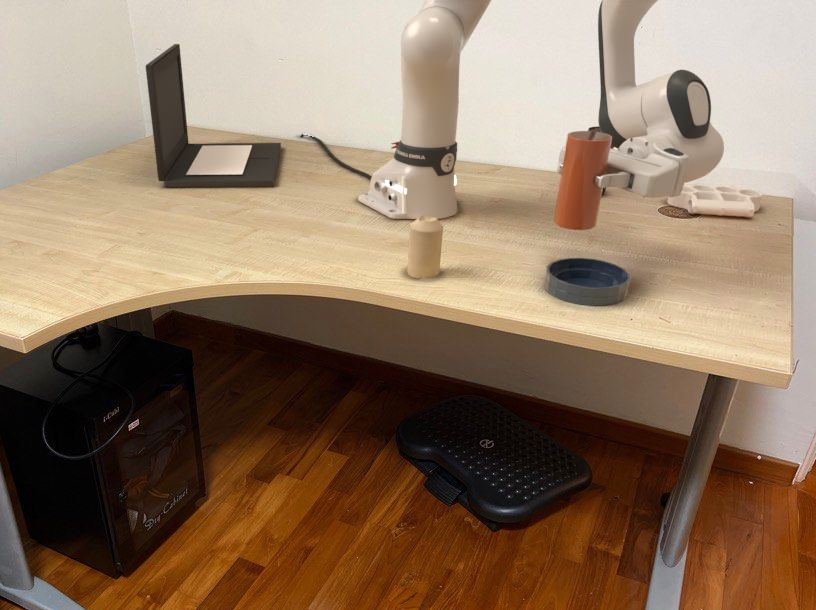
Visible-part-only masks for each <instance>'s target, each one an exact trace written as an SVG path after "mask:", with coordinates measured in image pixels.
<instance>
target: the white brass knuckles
mask: <svg viewBox="0 0 816 610" xmlns="http://www.w3.org/2000/svg"><path fill="white" fill-rule="evenodd" d="M763 198H764V193H763V192H762V191H760V190H758V189H753V188H741V187H735V186H731V185H724V184H719V185H718V184H716V185H715V184H705V183H697V184H684V186H683V189H682V192H681V194H680V196H676V197H669V196H667V200H666V202H667V205H669V206H672V207H674V208H677V209H684V210H687V213H689V214H690V215H695V214H698V215H699V214H700V215H710V216H711V215H712V216H719V217H722V216H728V217H741V218H743V217H744V218H748V219H749V218H752V217H754V214H755V212H756V213H757V212H758V211H759V210H760V207H761V204H762V200H763Z"/></svg>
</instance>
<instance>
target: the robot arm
mask: <svg viewBox="0 0 816 610" xmlns="http://www.w3.org/2000/svg"><path fill="white" fill-rule="evenodd" d="M658 1H659V0H601V2H600V4H599V8H598V13H597V14H598V17H597V35H598V37H597V39H598V59H599V60H598V62H599V82H600V83H599V84H600V100H599V108H598V118H597V119H598V120H597V121H598V122H597V123H598V127H599V129H600V132H601V133H606V134H609V135H611V136H612V142H611V145H612V146H614V148H613V149H612V148H610V152H609V158H608V163H607V168H606V174H605V173H602V174H597V175H596V176H595V181H594V185H595V186H597V187H600V188H605V187H606V188H615V189H620V190H623V191H627V192H629V193H632V194H635V195H639V196H641V197H645V198H651V199H658V198H666V197H668V196H669V197H676V196H680V194H681V192H682V189H683V186H684V185H685V184H686V183H689V182H693V181H696V180H700V179H701V178H704V177H705V176H707V175H708V174H710V173H711V172H713V170H715V168H717V166H718V165H719V164H720V162H721V160H722V159H723V156H724V152H725V145H724V144H725V143H724V139H723V137H722V135H721V133H720V132H719V131H718V130H717V129H716V128H715V127H714V126H713V124H712V123H711V116H712V100H711V95H710V91H709V89H708V87H707V85H706V84H705V82H704V81H703V79H702V78H701V77H699V76H698V75H697V74H695V73H694V72H692V71H690V70H686V69H677V70H676V71H672V72H669V73H667V74H663V75H661V76H659V77H656V78H653V79H652V80H649V81H647V82H644V83H641V84H638V85H637V83H636V66H635V65H636V63H635V62H636V61H635V35H636V32H637V29H638V27H639V25H640V23H641V21H642V20H643V19H644V17H645V16H646V14H647V13H648V12H649V10H650V9H651V8H652V7H653V6H654V5H655V4H656V3H657V2H658ZM491 2H492V0H424V2H423V4H422V6H421V8H420V9H419V11H418V13H416V14H415V15H414V16H412V17H410V19H409V20H408V22H406V24H405V26H404V27H403V30H402V33H401V37H400V38H401V39H400V72H401V73H400V74H401V75H400V77H401V92H402V95H401V96H402V107H401V108H402V109H401V111H402V113H401V128H400V129H401V131H400V140H399V141H396V142H391V143H390V144H391V145H393V146H390V149H391V150H393V149H395V151H394V154H393V157H392V158H391V159H389V160H388V161H387V162H386V163H384V164H383V165H382V166H381V167H379V168H378V169H376V170H374V172H373V174H372V175H370V174H369V173H367V172H364V171H362V170H360V169H357V168H354V167H352V166H350V165H348V164H346V163H345V162H343V161H341V160H340V159H338V158H337V157H336V156H335V155H334V154H333V153H332V151H330V149H329V148H328V147H327V146H326V144H325V143H324V142H323V141H322V139H320V138H318V137H316V136H314V137H312V136H308V135H303V133H301V134H300V136H299V137H300V138H304V137H305V136H306V137H309V138H311V139H312V140H314V141H316V142H318V143H319V144H320V145H321V147H322V148H323V149H324V150H325V152H326V153H327V154H328V156H330V158H331V159H332V160H333V161H335V162H336V163H337V164H339V165H340V166H341V167H344V168H346V169H347V170H349V171H352V172H354V173H356V174H358V175H361V176H364V177H366V178H367V179H369V180H370V182H369V190H367V191H365V192H363V193H361V194H360V195H358V198H357V200H358V202H360V203H362V204H363V205H365V206H368V208H371V209H372V210H374V211H377V212H378V213H379V214H382V215H384V216H386V217H388V218H389V219H393V220H405V219H407V220H408V219H409V220H417V219H418V218H420V217H421V216H423V215H428V216H430V217H431V218H434V217H436V218H437V219H438V220H440V219H445V218H449V217H453V216H455V215H456V214H457V213H458V211H459V210H458V209H459V208H458V205H457V204H458V203H457V196H456V185H457V175H456V174H455V166H456V162H457V157H458V142H457V141H456V140H457V130H458V116H459V103H460V97H459V95H460V91H459V90H460V89H459V88H460V62H461V53H462V52H463V50H464V49H465V47H466V45H467V43H468V42H469V40H470V38H471V37H472V34H473V33H474V31H475V30H476V28H477V26H478V24H479V22H481V19H482V18H483V16H484V14H485V12H486V10H487V9H488V7H489V6H490V4H491ZM615 148H616V149H615ZM564 153H565V146H562V147H561V149H560V151H559V156H558V163H557V171H556V172H557V174H559V175H561V172H562V165H563V159H564Z"/></svg>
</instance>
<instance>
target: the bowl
mask: <svg viewBox="0 0 816 610" xmlns="http://www.w3.org/2000/svg"><path fill="white" fill-rule="evenodd" d="M631 279H632V278H631V273H629V271H627V270H626V268H623V267H621V266H620V265H618V264H615V263H612V262H609V261H606V260H602V259H596V258H587V257H567V258H559V259H557V260H554V261H551V262H550V263H548V265H546V267H545V275H544V281H543V289H545V290H546V292H547V294H550V295H551V296H552V297H554V298H557V299H558V300H562V301H565V302H568V303H571V304H572V303H573V304H575V305H584V306H594V307H595V306H609V305H614V304H618V303H620V302H622V301H624V300H625V299H626V298H627V296H628V293H629V290H630V289H629V288H630V285H631Z"/></svg>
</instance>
